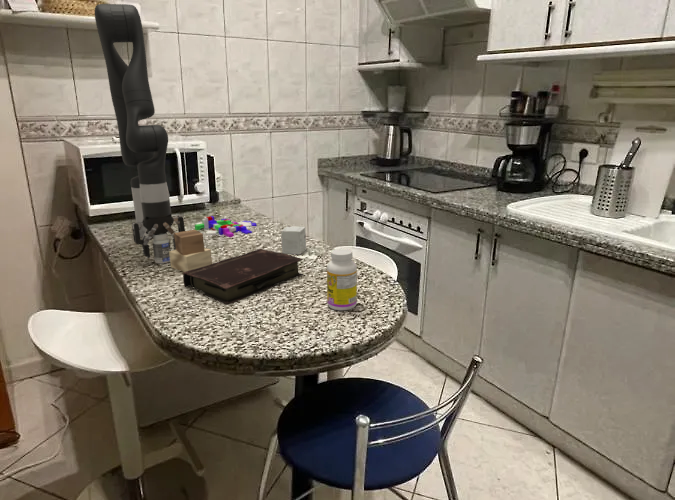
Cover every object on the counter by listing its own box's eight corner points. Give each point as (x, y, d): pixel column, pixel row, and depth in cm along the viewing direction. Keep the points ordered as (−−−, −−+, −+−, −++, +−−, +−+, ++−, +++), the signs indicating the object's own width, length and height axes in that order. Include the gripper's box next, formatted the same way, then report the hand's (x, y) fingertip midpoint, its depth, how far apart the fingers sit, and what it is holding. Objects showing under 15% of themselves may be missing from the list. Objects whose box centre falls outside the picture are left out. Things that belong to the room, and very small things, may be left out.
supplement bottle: (326, 300, 106) (325, 247, 102) (354, 298, 106) (354, 246, 102) (328, 312, 99) (327, 256, 96) (358, 311, 100) (358, 255, 96)
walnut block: (176, 250, 128) (173, 233, 126) (197, 246, 131) (195, 229, 130) (183, 255, 123) (180, 237, 122) (204, 251, 126) (202, 234, 125)
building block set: (269, 230, 167) (268, 219, 166) (217, 241, 154) (215, 228, 153) (236, 218, 185) (235, 207, 184) (187, 227, 173) (186, 215, 171)
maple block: (171, 268, 128) (169, 251, 127) (195, 260, 134) (193, 244, 133) (188, 274, 124) (186, 256, 122) (212, 266, 130) (210, 249, 128)
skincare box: (300, 255, 138) (299, 231, 136) (281, 253, 139) (280, 230, 137) (306, 249, 144) (305, 226, 141) (288, 247, 145) (287, 225, 143)
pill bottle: (166, 264, 131) (162, 236, 128) (151, 263, 132) (147, 235, 129) (175, 259, 135) (171, 231, 133) (160, 258, 136) (157, 230, 134)
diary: (183, 289, 115) (181, 270, 113) (259, 263, 133) (258, 247, 132) (229, 307, 103) (227, 287, 102) (305, 276, 122) (305, 259, 120)
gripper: (176, 194, 135) (182, 246, 140) (124, 200, 127) (133, 256, 132) (185, 197, 129) (191, 252, 134) (131, 204, 121) (140, 262, 126)
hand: (162, 254), depth 133 cm, fingers open, 7 cm apart
